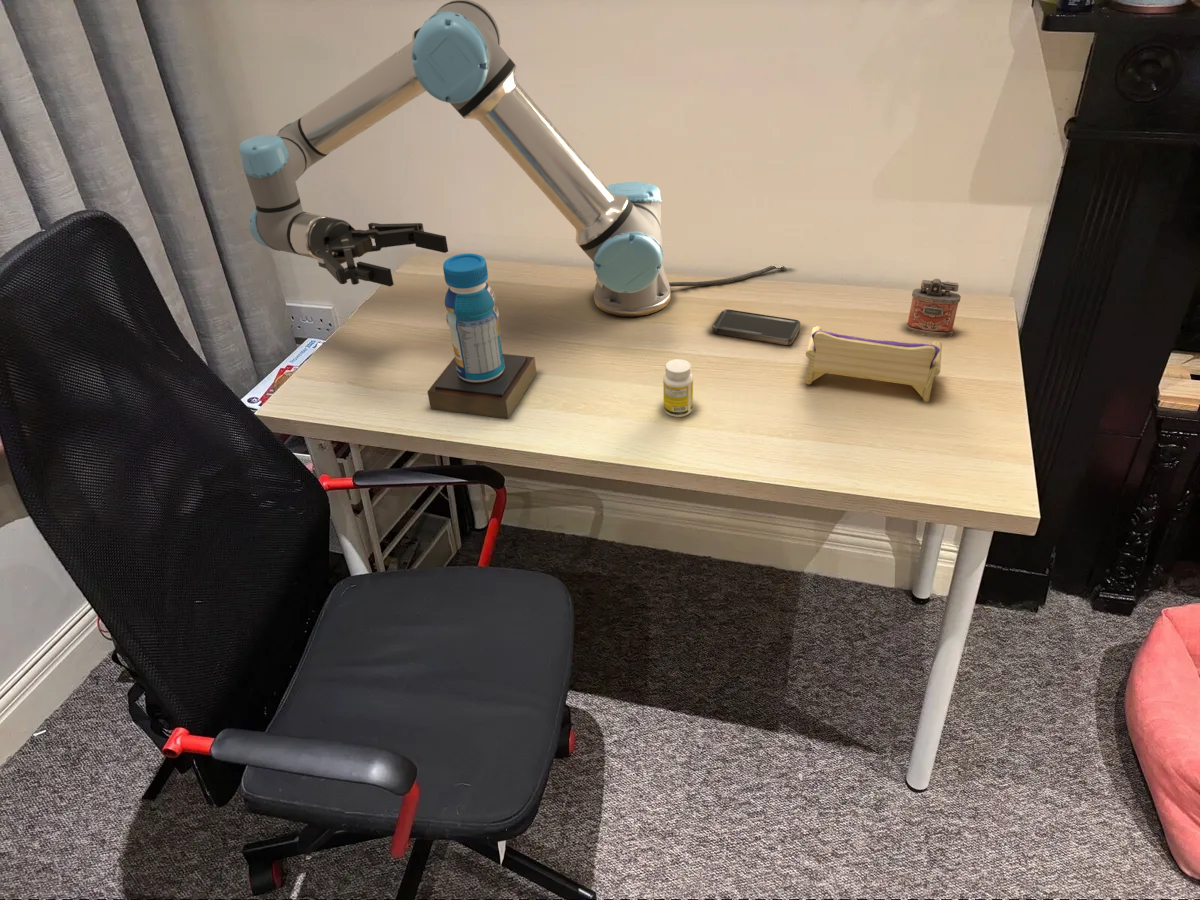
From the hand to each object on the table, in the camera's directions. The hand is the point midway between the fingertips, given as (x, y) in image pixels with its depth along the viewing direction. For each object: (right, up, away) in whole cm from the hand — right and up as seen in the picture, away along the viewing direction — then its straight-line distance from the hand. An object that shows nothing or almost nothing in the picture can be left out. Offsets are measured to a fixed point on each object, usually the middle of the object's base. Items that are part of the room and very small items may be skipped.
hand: (419, 260), depth 139 cm
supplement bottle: (+42, -24, +2) cm, 48 cm away
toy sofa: (+74, -19, +6) cm, 77 cm away
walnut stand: (+9, -20, +9) cm, 24 cm away
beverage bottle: (+9, -17, +7) cm, 21 cm away
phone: (+58, -8, +21) cm, 63 cm away
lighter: (+89, -9, +18) cm, 91 cm away
